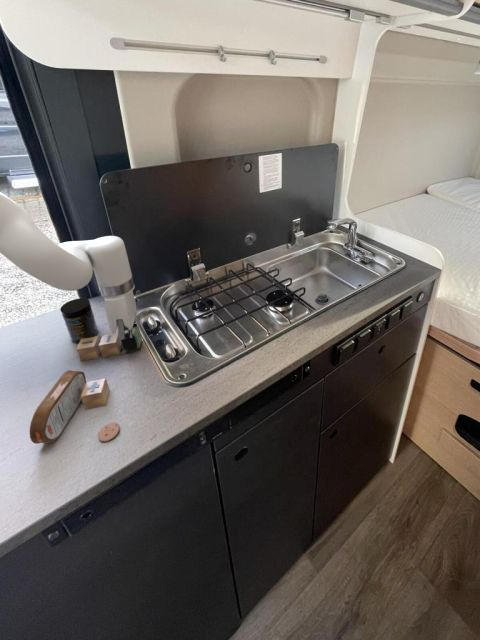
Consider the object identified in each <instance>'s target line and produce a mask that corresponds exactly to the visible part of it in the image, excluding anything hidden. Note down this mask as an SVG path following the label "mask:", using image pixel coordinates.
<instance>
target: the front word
mask: <svg viewBox="0 0 480 640" xmlns="http://www.w3.org/2000/svg"><path fill="white" fill-rule="evenodd" d="M109 393H110V388H109V384H108V382H107V379H106V377H104V378H100V379H95V380H89V381H86V383H85V386H84V389H83V392H82V394H81V399H82V401H81V402H82V404H83V407H84V409H85V410H90V409H94V408H99V407H102V406H106V405H107V402H108V398H109Z"/></svg>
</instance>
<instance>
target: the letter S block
mask: <svg viewBox="0 0 480 640" xmlns="http://www.w3.org/2000/svg"><path fill="white" fill-rule="evenodd" d="M125 333H129V331H128V330H125ZM132 333H133V335H135V339H136V343H137V348H138V347H140V343H141V339H143V337H142V334H141V329H140V326H139V325H137V327H132ZM121 344H122V342H121ZM121 348H122V350H124V349H123V345H121Z"/></svg>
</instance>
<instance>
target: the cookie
mask: <svg viewBox="0 0 480 640" xmlns="http://www.w3.org/2000/svg"><path fill="white" fill-rule="evenodd" d="M119 431H120V425H119V424H118V423H117V422H108V423H107V424H105V425H103V426H102V427H101V428H100V429H99V431H98V434H97V439H98V440H99V441H100V442H108V441H111V440H112V439H114V438H115V437H116V436H117V435H118V433H119Z"/></svg>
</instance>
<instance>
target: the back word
mask: <svg viewBox="0 0 480 640" xmlns="http://www.w3.org/2000/svg"><path fill="white" fill-rule="evenodd" d="M143 343H144V340H143V341H142V340H141V343H140V347H138V348H134V349H129V350H123V349H122V344H121V340H119V335H118V332H116V333H108V334H103V335H101V338H99V336H98V335H96V336H95V337H90V338H84V339H81V340H80V343H78V345H77V347H76V352H77V354H78V355H77V356H78V357H79V360H80V362H83V361H88V360H95V359H98V358H99V356H100V355H101V357H102V358H105V357H110V356H115V355H120V352H121V355H126V354H127V355H128V354H132V353H137V352H142V348H143ZM121 349H122V351H121Z"/></svg>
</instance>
